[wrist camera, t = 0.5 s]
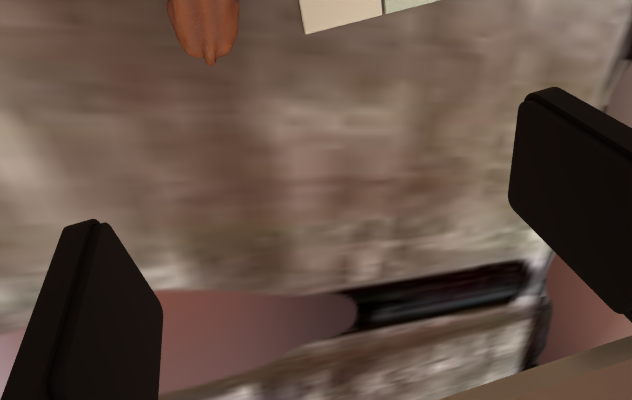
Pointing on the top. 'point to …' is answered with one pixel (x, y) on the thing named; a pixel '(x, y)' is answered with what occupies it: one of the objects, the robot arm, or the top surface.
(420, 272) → the top surface
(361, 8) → the game board
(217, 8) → the bull figurine
